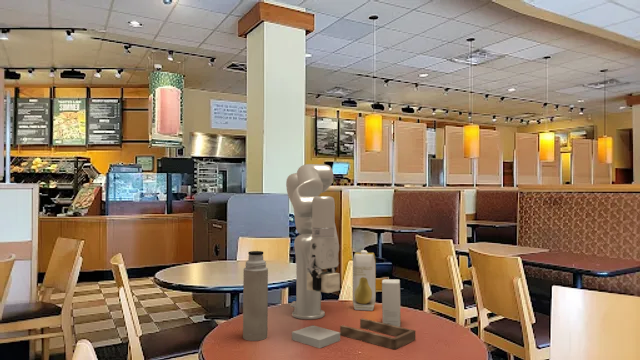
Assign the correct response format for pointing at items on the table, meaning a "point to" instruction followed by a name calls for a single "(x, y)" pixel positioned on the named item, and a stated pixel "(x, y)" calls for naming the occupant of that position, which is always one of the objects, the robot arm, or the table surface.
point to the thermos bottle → (255, 297)
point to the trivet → (316, 336)
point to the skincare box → (391, 301)
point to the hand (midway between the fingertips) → (323, 288)
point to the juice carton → (364, 281)
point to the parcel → (325, 282)
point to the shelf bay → (400, 340)
